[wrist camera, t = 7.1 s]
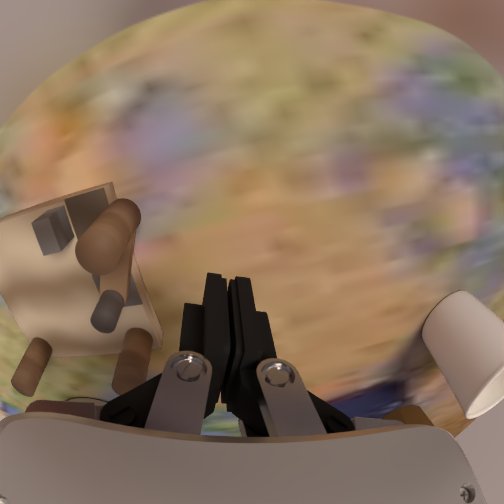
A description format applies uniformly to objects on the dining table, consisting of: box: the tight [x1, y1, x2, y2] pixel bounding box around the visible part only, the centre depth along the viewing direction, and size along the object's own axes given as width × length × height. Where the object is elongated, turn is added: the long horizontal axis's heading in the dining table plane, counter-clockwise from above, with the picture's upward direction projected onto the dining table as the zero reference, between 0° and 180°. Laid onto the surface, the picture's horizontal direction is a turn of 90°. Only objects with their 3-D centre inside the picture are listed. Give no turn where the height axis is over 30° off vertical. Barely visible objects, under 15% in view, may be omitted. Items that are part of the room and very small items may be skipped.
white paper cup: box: [422, 291, 504, 419], centre depth 25 cm, size 10×10×12 cm
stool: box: [0, 182, 164, 397], centre depth 19 cm, size 14×14×8 cm
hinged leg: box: [75, 198, 141, 333], centre depth 17 cm, size 8×2×6 cm, turn 164°
